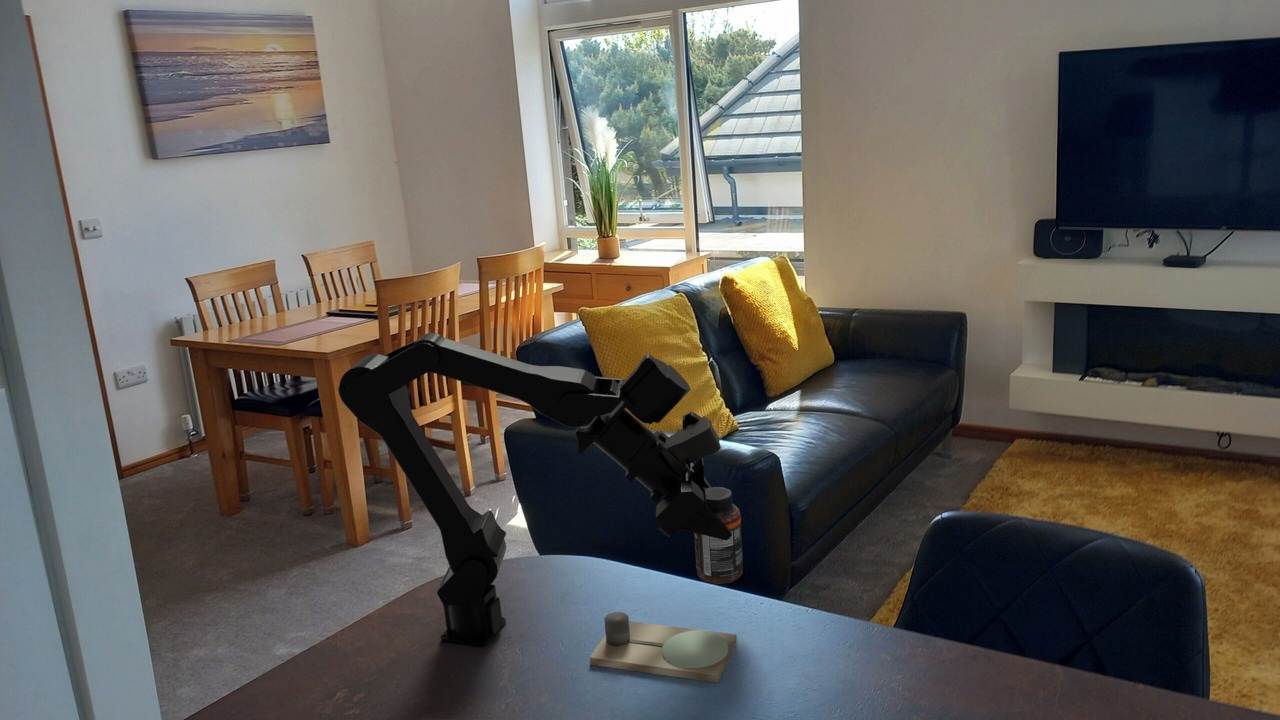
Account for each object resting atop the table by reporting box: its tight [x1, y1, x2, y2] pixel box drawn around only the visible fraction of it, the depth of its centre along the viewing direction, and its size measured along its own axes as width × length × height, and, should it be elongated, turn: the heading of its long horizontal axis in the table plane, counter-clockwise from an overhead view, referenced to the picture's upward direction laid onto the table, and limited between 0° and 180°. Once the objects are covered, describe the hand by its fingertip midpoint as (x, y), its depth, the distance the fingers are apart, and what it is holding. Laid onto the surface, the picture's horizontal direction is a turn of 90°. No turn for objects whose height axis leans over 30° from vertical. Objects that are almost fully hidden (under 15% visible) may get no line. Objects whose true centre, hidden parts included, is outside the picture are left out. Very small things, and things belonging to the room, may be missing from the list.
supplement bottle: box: [693, 486, 744, 585], centre depth 123 cm, size 6×6×11 cm
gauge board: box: [589, 611, 738, 684], centre depth 120 cm, size 16×9×4 cm, turn 70°
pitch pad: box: [662, 630, 728, 669], centre depth 118 cm, size 8×8×1 cm
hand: (728, 526), depth 123 cm, fingers closed on supplement bottle, 6 cm apart
